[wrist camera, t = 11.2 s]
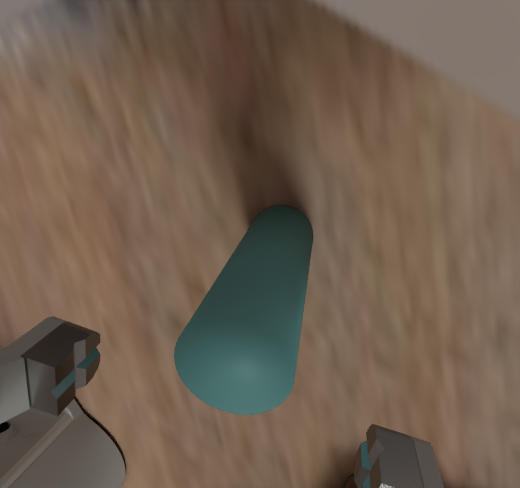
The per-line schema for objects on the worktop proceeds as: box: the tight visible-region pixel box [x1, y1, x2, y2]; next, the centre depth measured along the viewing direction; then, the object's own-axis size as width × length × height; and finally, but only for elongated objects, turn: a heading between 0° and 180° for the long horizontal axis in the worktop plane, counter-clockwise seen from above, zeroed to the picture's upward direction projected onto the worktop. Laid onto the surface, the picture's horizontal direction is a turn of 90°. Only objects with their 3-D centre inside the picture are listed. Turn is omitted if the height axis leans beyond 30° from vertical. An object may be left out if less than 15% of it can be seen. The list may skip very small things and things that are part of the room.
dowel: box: [174, 205, 313, 415], centre depth 16 cm, size 4×4×12 cm
